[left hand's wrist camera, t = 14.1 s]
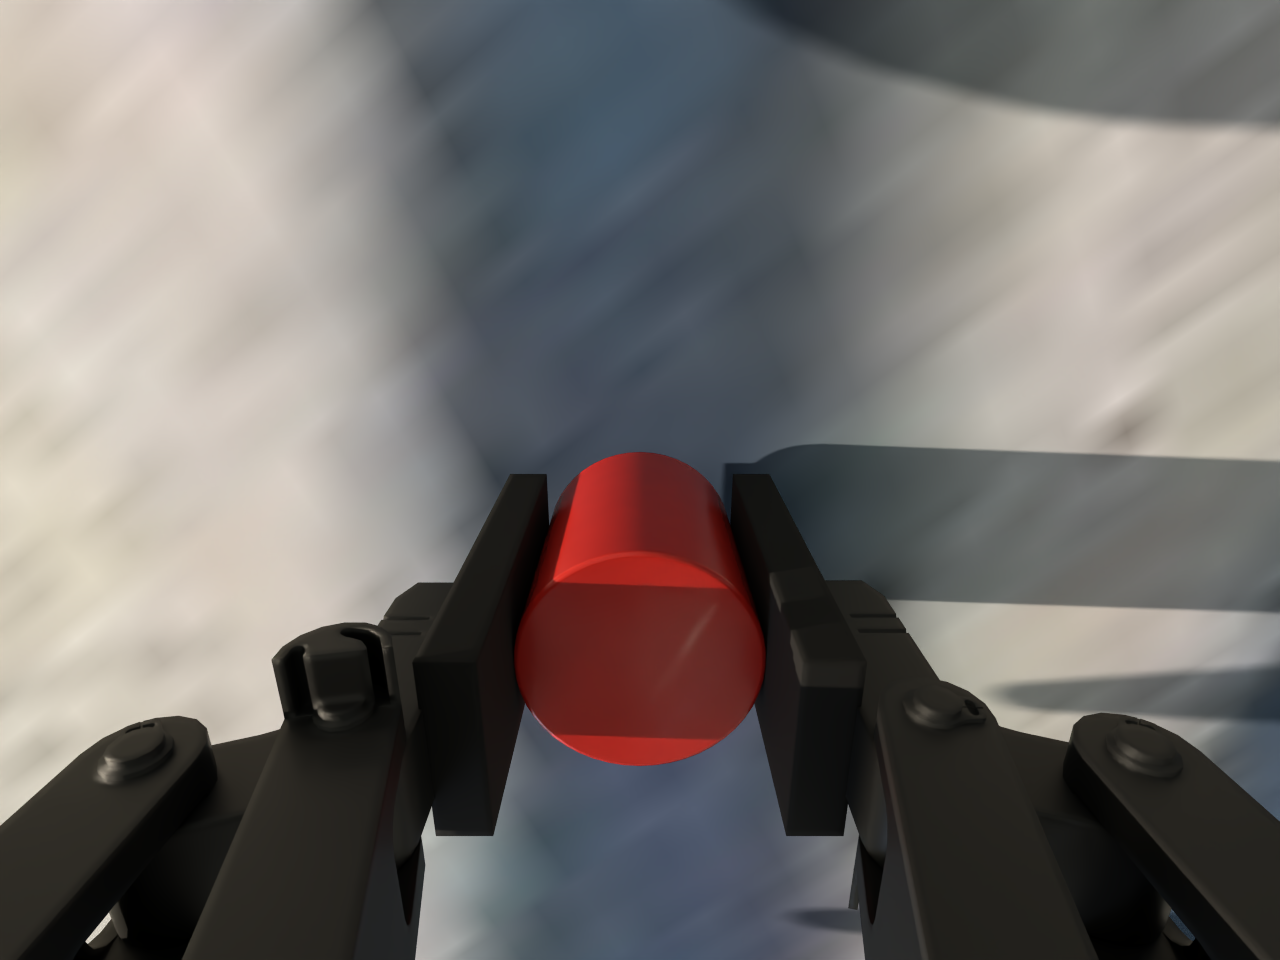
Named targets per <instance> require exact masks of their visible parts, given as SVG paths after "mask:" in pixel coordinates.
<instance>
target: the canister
mask: <svg viewBox="0 0 1280 960" xmlns="http://www.w3.org/2000/svg"><path fill="white" fill-rule="evenodd" d="M765 667H766V645H765V639H764V634H763V631H762V627H761V624H760V621H759V618H758V614H757V611H756V608H755V605H754V601H753V598H752V595H751V592H750V588H749V585H748V582H747V579H746V575H745V572H744V569H743V566H742V562H741V559H740V556H739V552H738V549H737V546H736V543H735V539H734V536H733V533H732V530H731V526H730V523H729V520H728V517H727V513H726V510H725V507H724V505H723V503H722V501H721V498H720V496H719V495H718V493H717V492H716V490H715V489H714V487H713V486H712V485H711V484H710V483H709V482H708V480H707V479H706V478H705V477H704V476H702V475H701V474H700V473H699V472H698V471H696V470H695V469H693V468H692V467H690V466H689V465H687V464H685V463H683V462H681V461H679V460H677V459H674V458H671V457H668V456H665V455H661V454H655V453H646V452H634V453H624V454H619V455H615V456H611V457H608V458H605V459H603V460H601V461H599V462H596V463H594V464H593V465H591V466H589V467H588V468H586V469H585V470H583V471H582V472H581V473H580V474H578V475H577V476H576V477H575V478H574V479H573V480H572V481H571V482H570V483H569V485H568V486H567V487H566V488H565V490H564V491H563V493H562V494H561V496H560V498H559V500H558V502H557V504H556V506H555V509H554V512H553V515H552V519H551V522H550V525H549V529H548V532H547V535H546V538H545V542H544V545H543V548H542V551H541V555H540V558H539V561H538V564H537V568H536V571H535V574H534V577H533V581H532V584H531V587H530V591H529V594H528V597H527V600H526V604H525V607H524V610H523V613H522V617H521V620H520V623H519V626H518V630H517V633H516V637H515V643H514V670H515V677H516V680H517V684H518V687H519V690H520V693H521V695H522V697H523V699H524V701H525V703H526V705H527V707H528V708H529V710H530V711H531V713H532V714H533V716H534V717H535V719H536V720H537V721H538V722H539V723H540V724H541V725H542V727H543V728H544V729H545V730H547V731H548V732H549V733H550V734H551V735H552V736H553V737H554V738H556V739H557V740H559V741H560V742H562V743H563V744H565V745H566V746H568V747H570V748H571V749H573V750H575V751H577V752H579V753H581V754H584V755H586V756H589V757H591V758H594V759H598V760H601V761H605V762H609V763H615V764H621V765H633V766H647V765H659V764H665V763H671V762H675V761H678V760H682V759H686V758H688V757H691V756H693V755H696V754H699V753H701V752H703V751H704V750H706V749H708V748H710V747H712V746H714V745H715V744H717V743H718V742H719V741H721V740H722V739H724V738H725V737H726V736H727V735H729V734H730V733H731V732H732V731H733V730H734V729H735V728H736V727H737V726H738V725H739V724H740V723H741V722H742V721H743V719H744V718H745V717H746V715H747V714H748V712H749V711H750V710H751V708H752V707H753V705H754V703H755V701H756V698H757V696H758V694H759V692H760V689H761V686H762V683H763V680H764V675H765Z"/></svg>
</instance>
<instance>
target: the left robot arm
mask: <svg viewBox="0 0 1280 960" xmlns="http://www.w3.org/2000/svg"><path fill="white" fill-rule="evenodd" d="M730 526H731V530H732V533H733V536H734V539H735V543H736V546H737V549H738V552H739V556H740V559H741V562H742V566H743V569H744V572H745V575H746V579H747V582H748V585H749V588H750V592H751V595H752V598H753V601H754V605H755V608H756V611H757V614H758V618H759V621H760V624H761V627H762V631H763V634H764V639H765V645H766V667H765V675H764V680H763V683H762V686H761V689H760V692H759V694H758V696H757V698H756V701H755V707H756V712H757V716H758V720H759V724H760V728H761V732H762V737H763V741H764V745H765V749H766V753H767V757H768V762H769V766H770V770H771V774H772V778H773V782H774V787H775V791H776V795H777V799H778V803H779V807H780V812H781V816H782V820H783V824H784V828H785V832H786V836H844V828H845V821H846V814H847V807H848V805H849V807H850V810H851V813H852V816H853V818H854V821H855V824H856V827H857V830H858V832H859V839H858V845H857V852H856V859H855V866H854V872H853V879H852V886H851V893H850V900H849V907H848V908H850V909H855V910H857V909H858V903H859V907H860V916H861V925H862V934H863V944H864V953H865V960H1280V821H1278V820H1277V819H1276V818H1275V817H1274V816H1273V815H1272V814H1271V813H1269V812H1268V811H1267V810H1266V809H1265V808H1264V807H1263V806H1262V805H1260V804H1259V803H1258V802H1257V801H1256V800H1255V799H1254V798H1252V797H1251V796H1250V795H1249V794H1248V793H1247V792H1246V791H1245V790H1243V789H1242V788H1241V787H1240V786H1239V785H1238V784H1237V783H1236V782H1234V781H1233V780H1232V779H1231V778H1230V777H1229V776H1228V775H1227V774H1225V773H1224V772H1223V771H1222V770H1221V769H1220V768H1219V767H1218V766H1216V765H1215V764H1214V763H1213V762H1212V761H1211V760H1210V759H1209V758H1207V757H1206V756H1205V755H1204V754H1203V753H1202V752H1201V751H1199V750H1198V749H1197V748H1195V747H1194V746H1192V745H1191V744H1189V743H1188V742H1187V741H1185V740H1184V739H1182V738H1181V737H1180V736H1178V735H1176V734H1174V733H1172V732H1170V731H1168V730H1166V729H1164V728H1162V727H1160V726H1157V725H1156V724H1154V723H1151V722H1148V721H1145V720H1143V719H1137V718H1135V717H1131V716H1127V715H1120V714H1109V713H1098V714H1092V715H1087V716H1083V717H1082V718H1081V719H1080V720H1079V721H1078V722H1076V723H1075V724H1074V726H1073V729H1072V733H1071V737H1070V740H1069V742H1064V741H1059V740H1055V739H1050V738H1045V737H1041V736H1036V735H1031V734H1027V733H1022V732H1018V731H1014V730H1011V729H1007V728H1004V727H1000V726H999V725H998V723H997V720H996V718H995V717H994V715H993V714H992V713H991V711H990V710H989V708H988V707H987V706H986V704H985V703H984V702H982V701H981V700H979V699H978V698H977V697H975V696H974V695H973V694H971V693H970V692H969V691H967V690H964V689H962V688H960V687H958V686H955V685H953V684H951V683H948V682H945V681H940V680H939V678H938V677H937V675H936V674H935V672H934V671H933V669H932V668H931V666H930V665H929V663H928V662H927V660H926V659H925V657H924V656H923V654H922V653H921V651H920V650H919V648H918V647H917V645H916V643H915V642H914V640H913V639H912V637H911V636H910V634H909V633H906V628H905V627H904V625H903V624H902V622H901V621H900V619H899V618H896V613H895V612H894V610H893V609H892V607H891V606H890V604H889V603H888V601H887V600H886V598H885V597H884V596H883V595H882V594H881V593H879V592H878V591H876V590H875V589H873V588H872V587H870V586H869V585H867V584H866V583H865V582H863V581H862V580H824V578H823V576H822V574H821V573H820V571H819V569H818V567H817V565H816V563H815V561H814V559H813V557H812V555H811V553H810V551H809V550H808V548H807V546H806V544H805V542H804V540H803V538H802V536H801V534H800V532H799V530H798V528H797V527H796V525H795V523H794V521H793V519H792V517H791V515H790V513H789V511H788V509H787V507H786V505H785V503H784V502H783V500H782V498H781V496H780V494H779V492H778V490H777V488H776V486H775V484H774V482H773V480H772V479H771V477H770V475H769V474H733V483H732V503H731V523H730ZM548 529H549V512H548V493H547V474H510V476H509V478H508V480H507V481H506V483H505V485H504V487H503V489H502V491H501V493H500V495H499V497H498V499H497V501H496V503H495V504H494V506H493V508H492V510H491V512H490V514H489V516H488V518H487V520H486V522H485V524H484V526H483V527H482V529H481V531H480V533H479V535H478V537H477V539H476V541H475V543H474V545H473V547H472V549H471V550H470V552H469V554H468V556H467V558H466V560H465V562H464V564H463V566H462V568H461V570H460V572H459V574H458V575H457V577H456V579H455V581H454V583H417V584H415V585H414V586H413V587H411V588H410V589H408V590H407V591H405V592H404V593H403V594H401V595H400V596H398V597H397V598H396V599H395V600H394V602H393V603H392V605H391V606H390V608H389V609H388V611H387V612H386V614H385V615H384V620H381V621H380V623H379V624H378V626H376V625H372V624H369V623H340V624H335V625H330V626H325V627H321V628H318V629H316V630H313V631H310V632H308V633H305V634H303V635H300V636H299V637H297V638H295V639H294V640H292V641H291V642H289V643H288V644H286V645H284V646H283V647H282V648H281V649H280V650H279V652H278V653H277V654H276V655H275V656H274V657H273V659H272V664H273V668H274V673H275V677H276V682H277V686H278V691H279V695H280V700H281V704H282V709H283V713H284V718H285V719H284V722H283V724H282V726H281V729H279V730H276V731H272V732H269V733H265V734H262V735H258V736H253V737H248V738H244V739H239V740H234V741H230V742H225V743H220V744H216V745H211V742H210V739H209V735H208V731H207V728H206V727H205V726H204V725H203V724H201V723H200V722H199V721H198V720H197V719H192V718H187V717H182V716H172V717H162V718H154V719H150V720H146V721H143V722H138V723H135V724H132V725H130V726H127V727H125V728H123V729H121V730H119V731H117V732H115V733H113V734H111V735H109V736H107V737H104V738H102V739H101V740H100V741H98V742H97V743H95V744H94V745H93V746H91V747H90V748H89V749H87V750H86V751H84V752H83V753H82V754H80V755H79V756H78V757H77V758H76V759H75V760H73V761H72V762H71V763H70V764H69V765H68V766H67V767H66V768H65V769H63V770H62V771H61V772H60V773H59V774H58V775H57V776H56V777H54V778H53V779H52V780H51V781H50V782H49V783H48V784H47V785H46V786H44V787H43V788H42V789H41V790H40V791H39V792H38V793H37V794H35V795H34V796H33V797H32V798H31V799H30V800H29V801H28V802H26V803H25V804H24V805H23V806H22V807H21V808H20V809H19V810H18V811H16V812H15V813H14V814H13V815H12V816H11V817H10V818H9V819H7V820H6V821H5V822H4V823H3V824H2V825H1V826H0V960H415V954H416V945H417V936H418V927H419V918H420V908H421V899H422V890H423V881H424V872H425V860H424V852H423V845H422V839H421V835H422V832H423V829H424V826H425V823H426V821H427V818H428V815H429V812H430V809H431V807H432V810H433V817H434V824H435V832H436V836H493V835H494V830H495V826H496V822H497V818H498V814H499V810H500V805H501V801H502V797H503V793H504V789H505V785H506V780H507V776H508V772H509V768H510V764H511V760H512V755H513V751H514V747H515V743H516V739H517V735H518V730H519V726H520V722H521V718H522V714H523V710H524V705H525V701H524V699H523V697H522V695H521V693H520V690H519V687H518V684H517V680H516V677H515V670H514V643H515V637H516V633H517V630H518V626H519V623H520V620H521V617H522V613H523V610H524V607H525V604H526V600H527V597H528V594H529V591H530V587H531V584H532V581H533V577H534V574H535V571H536V568H537V564H538V561H539V558H540V555H541V551H542V548H543V545H544V542H545V538H546V535H547V532H548ZM1171 909H1172V910H1173V911H1174V912H1175V913H1176V915H1177V916H1178V917H1179V918H1180V919H1181V921H1182V922H1183V923H1184V924H1185V925H1186V927H1187V928H1188V929H1189V930H1190V932H1191V933H1192V934H1193V935H1194V936H1195V940H1194V941H1191V940H1190V939H1189V938H1188V937H1187V936H1186V935H1185V934H1184V933H1183V932H1182V931H1181V930H1180V929H1179V928H1178V927H1177V926H1176V924H1175V923H1174V922H1173V921H1172V919H1171V918H1170V917H1169V914H1170V912H1171ZM108 913H110V916H111V920H110V922H109V923H108V924H107V925H106V926H105V928H104V929H103V930H102V931H101V933H100V934H99V935H97V936H96V937H95V938H94V939H93V940H92V941H91V942H90V943H89V944H87V943H86V942H85V941H86V940H87V938H88V937H89V936H90V935H91V934H92V932H93V931H94V930H95V929H96V927H97V926H98V925H99V924H100V923H101V921H102V920H103V919H104V918H105V916H106V915H107V914H108Z"/></svg>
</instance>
